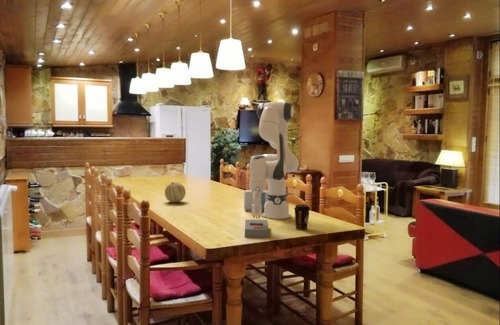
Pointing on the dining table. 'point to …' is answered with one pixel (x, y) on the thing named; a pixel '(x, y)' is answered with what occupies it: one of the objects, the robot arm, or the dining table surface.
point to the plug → (256, 213)
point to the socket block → (256, 228)
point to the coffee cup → (301, 216)
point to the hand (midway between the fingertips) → (256, 212)
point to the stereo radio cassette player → (249, 199)
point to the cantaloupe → (175, 192)
